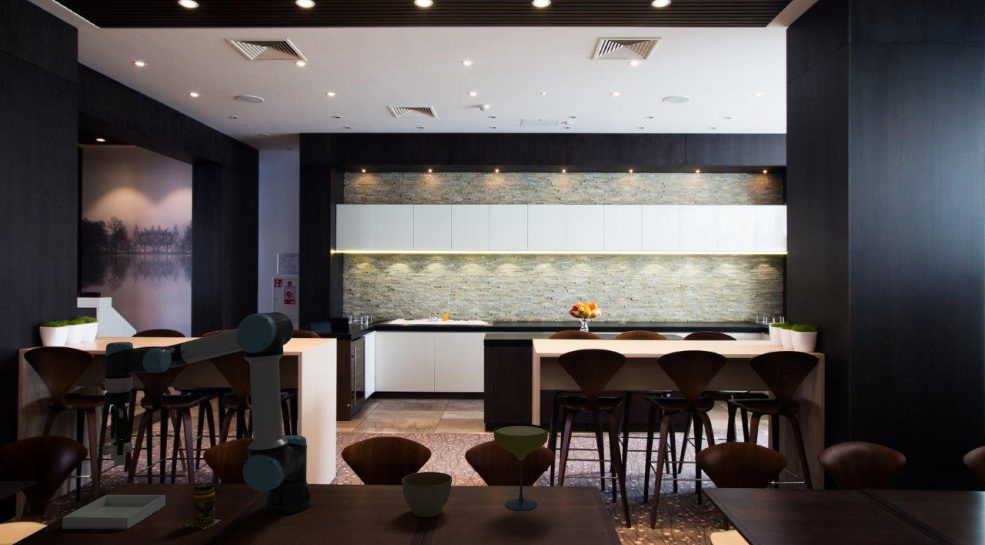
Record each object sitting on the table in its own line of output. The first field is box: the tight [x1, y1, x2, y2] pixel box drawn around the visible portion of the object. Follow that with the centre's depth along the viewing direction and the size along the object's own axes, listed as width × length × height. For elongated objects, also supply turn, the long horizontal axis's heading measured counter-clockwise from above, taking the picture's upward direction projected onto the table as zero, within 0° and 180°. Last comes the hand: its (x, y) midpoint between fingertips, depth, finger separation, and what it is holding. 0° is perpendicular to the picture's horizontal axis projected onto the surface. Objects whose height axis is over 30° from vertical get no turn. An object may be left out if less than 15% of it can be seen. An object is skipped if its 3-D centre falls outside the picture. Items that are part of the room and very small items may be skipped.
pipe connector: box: [101, 436, 134, 457], centre depth 193 cm, size 10×10×10 cm
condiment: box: [185, 482, 222, 530], centre depth 186 cm, size 7×8×12 cm
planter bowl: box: [401, 471, 453, 518], centre depth 195 cm, size 16×16×11 cm
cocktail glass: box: [493, 423, 549, 512], centre depth 201 cm, size 18×18×25 cm
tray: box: [61, 494, 166, 530], centre depth 192 cm, size 20×20×4 cm
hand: (117, 461), depth 192 cm, fingers closed on pipe connector, 9 cm apart
